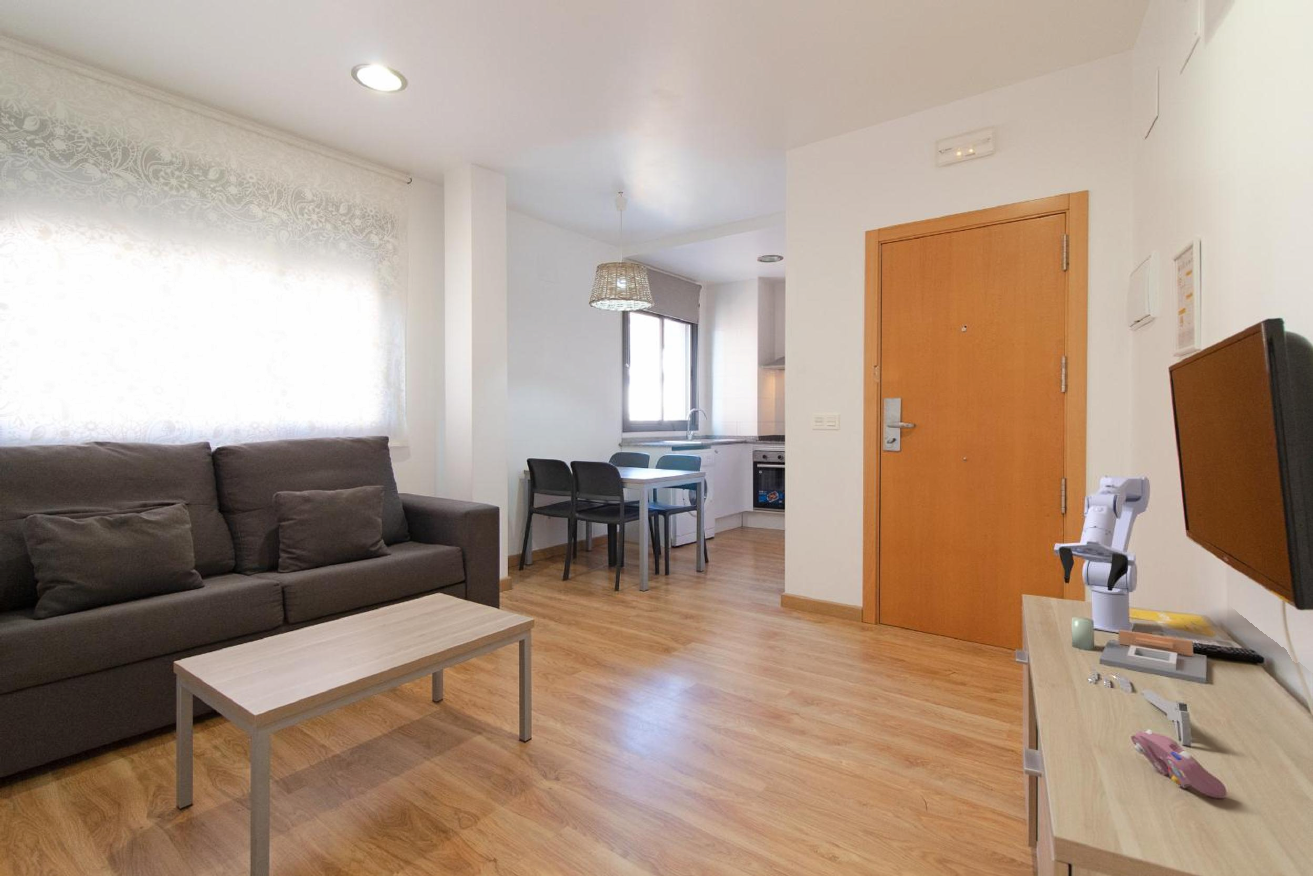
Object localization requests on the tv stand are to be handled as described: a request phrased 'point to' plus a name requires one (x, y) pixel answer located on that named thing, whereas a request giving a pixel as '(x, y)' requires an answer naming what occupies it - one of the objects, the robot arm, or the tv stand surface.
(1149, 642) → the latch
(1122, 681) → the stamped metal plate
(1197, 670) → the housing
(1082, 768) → the tv stand surface
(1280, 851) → the tv stand surface
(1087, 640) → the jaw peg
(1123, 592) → the robot arm
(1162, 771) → the video game controller
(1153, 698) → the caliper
